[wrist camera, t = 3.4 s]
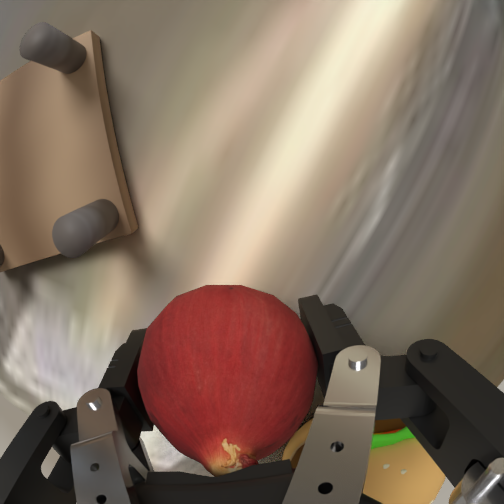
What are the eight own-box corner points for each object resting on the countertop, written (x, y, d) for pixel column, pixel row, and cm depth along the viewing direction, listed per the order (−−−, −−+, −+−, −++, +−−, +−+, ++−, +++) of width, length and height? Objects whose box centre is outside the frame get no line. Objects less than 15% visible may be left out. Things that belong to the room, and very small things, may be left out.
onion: (264, 378, 14) (285, 524, 7) (150, 346, 13) (103, 494, 6) (315, 276, 13) (400, 423, 5) (181, 232, 12) (108, 368, 4)
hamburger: (447, 370, 17) (511, 451, 9) (382, 466, 21) (412, 537, 13) (288, 378, 16) (324, 517, 8) (253, 480, 20) (264, 570, 11)
